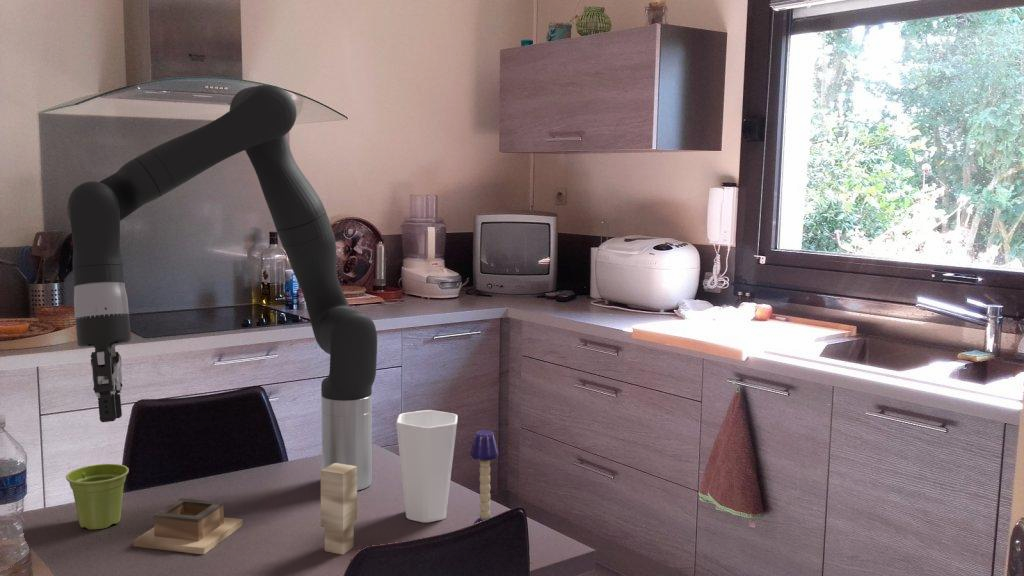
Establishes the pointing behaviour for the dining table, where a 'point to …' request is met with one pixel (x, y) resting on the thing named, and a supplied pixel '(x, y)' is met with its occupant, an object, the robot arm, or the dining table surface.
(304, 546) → the dining table surface
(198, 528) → the board
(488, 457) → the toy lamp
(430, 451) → the cup
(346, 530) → the leg peg
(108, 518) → the plant pot
